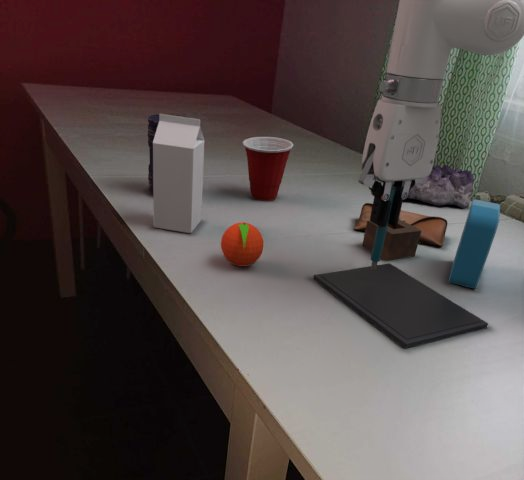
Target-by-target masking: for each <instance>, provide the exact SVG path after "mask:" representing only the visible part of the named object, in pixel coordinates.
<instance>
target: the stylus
mask: <svg viewBox="0 0 524 480" xmlns="http://www.w3.org/2000/svg"><path fill="white" fill-rule="evenodd" d="M395 190H396V187H394V186H391V191H390V197H389V199H388V200H389V201H391V207H390V211H389V216H388V220H387V225H386V226H385V227H380V226H377V231H376V235H375V240H374V245H373V250H372V252H371V255H370V261H371V264H370V266H371V269H376V268H377V265H378V264H379V262H380V261H381V259H382V258H381V254H382V249H383V245H384V240H385V236H386V231H387V227H388V222H389V217H390V213H391V208H392V204H393V199H394V194H395Z"/></svg>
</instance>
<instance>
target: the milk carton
mask: <svg viewBox="0 0 524 480" xmlns="http://www.w3.org/2000/svg"><path fill="white" fill-rule="evenodd" d="M172 115H173V114H169V115H165V113H159V123H158V127H157V130H156V133H155V137H154V140H153V195H152V197H153V199H152V200H153V227H154V228H156V229H161V230H162V229H163V230H168V231H173V232H174V231H175V232H180V233H186V234H187V233H188V234H192V232H193V231H194V230H195V229H196V228H197V226H198V225H199V224H200V223H201V222H202V214H203V212H202V211H203V185H204V161H205V159H204V158H205V137H204V134H203V131H202V128H201V119H200V118H194V117H189V118H187V117H188V116H185V117H180V116H181V115H179V116H172Z"/></svg>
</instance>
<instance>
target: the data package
mask: <svg viewBox="0 0 524 480" xmlns="http://www.w3.org/2000/svg"><path fill="white" fill-rule="evenodd" d="M500 216H501V204H500V203H495V202H492V201H491V202H490V201H485V200H481V199H472V200H471V204H470V207H469V210H468V213H467V217H466V220H465V223H464V227H463V229H462V232H461V236H460V239H459V241H458V245H457V249H456V252H455V255H454V258H453V262H452V266H451V269H450V274H449V278H448V283H450V284H453V285H458V286H461V287H466V288H470V289H474V290H475V289H477V287H478V285H479V283H480V280H481V277H482V274H483V271H484V268H485V265H486V262H487V260H488V257H489V254H490V251H491V248H492V245H493V242H494V239H495V237H496V233H497V230H498V227H499V223H500Z"/></svg>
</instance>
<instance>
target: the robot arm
mask: <svg viewBox="0 0 524 480" xmlns="http://www.w3.org/2000/svg"><path fill="white" fill-rule="evenodd" d="M397 7H398V8H397V12H396V18H395V23H394V29H393V34H392V39H391V44H390V50H389V56H388V59H387V60H388V61H387V66H386V72H385V77H384V80H381V81H380V82H379V85H378V88H379V92H381V99H378V100H377V103H376V105H375V108H374V111H373V114H372V117H371V120H370V123H369V126H368V130H367V133H366V137H365V142H364V147H363V151H362V157H361V173H360V175H359V177H358V181H357V182H358V183H359V184H361V185H363V186H365V187H367V188H368V189H369V190H370V194H371V196H373V201H372V204H373V206H372V211H371V216H370V221H371V222H373V223H374V224H376V225H378V226H380V227H385V226H386V225H387V220H388V216H389V211H390V207H391V201H389V200H388V199H389V197H390V191H391V186H394V187H396V190H395V194H394V199H393V204H392V208H391V213H390V217H389V222H388V223H389V224H391V225H392V226H396V225H397V224H398V220H399V215H400V211H401V210H402V207H403V201H404V200H406V199H408V198H407V196H408V193H409V191H410V190H411V189H412V187H413V186H414V185H416V184H418V183H420V182H422V181H423V180H424V179H425V177H427V176H429V175H430V173H431V170H432V167H434V163H435V159H436V154H437V148H438V144H439V137H440V130H441V121H442V120H441V119H442V117H441V116H442V105H441V104H439V100H440V96H441V92H442V88H443V83H444V79H445V75H446V71H447V67H448V61H449V59H450V54H451V50H452V49H453V48H454V49H459V50H462V51H465V52H469V53H474V54H477V55H481V56H496V55H499V54H503V53H505V52H507V51H509V50H510V49H512V48H513V47H514V46H516V45H517V44H518V43H519V42H520V41H521V40H522V39H523V37H524V0H399V2H398V6H397Z"/></svg>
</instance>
